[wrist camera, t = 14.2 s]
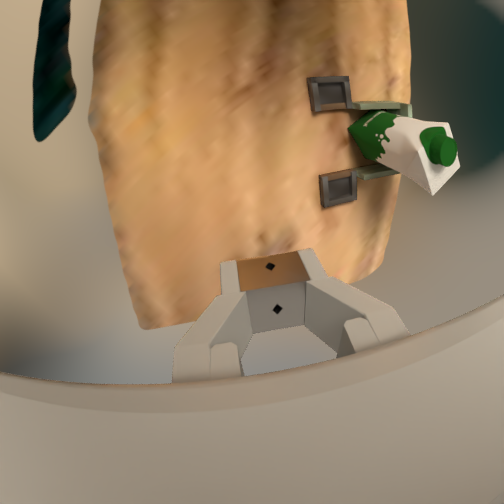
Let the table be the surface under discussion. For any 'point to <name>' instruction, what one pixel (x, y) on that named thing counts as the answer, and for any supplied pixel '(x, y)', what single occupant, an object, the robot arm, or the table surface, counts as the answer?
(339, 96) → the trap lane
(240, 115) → the table surface
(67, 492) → the robot arm
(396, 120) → the soya milk
